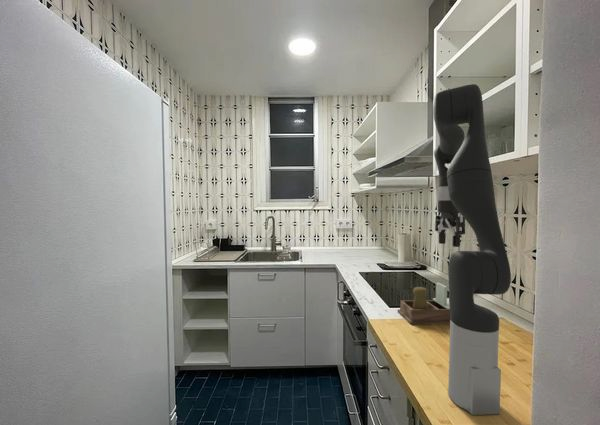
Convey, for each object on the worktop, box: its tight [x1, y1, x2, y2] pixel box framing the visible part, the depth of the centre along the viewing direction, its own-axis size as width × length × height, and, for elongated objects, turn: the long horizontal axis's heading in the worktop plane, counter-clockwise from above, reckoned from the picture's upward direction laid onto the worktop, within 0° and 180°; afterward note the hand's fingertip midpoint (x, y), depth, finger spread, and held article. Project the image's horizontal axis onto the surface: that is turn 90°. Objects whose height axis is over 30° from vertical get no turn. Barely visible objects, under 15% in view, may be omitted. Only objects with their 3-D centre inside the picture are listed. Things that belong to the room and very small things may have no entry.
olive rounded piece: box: [412, 286, 429, 309], centre depth 109 cm, size 6×6×11 cm
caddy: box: [397, 299, 450, 326], centre depth 111 cm, size 12×24×5 cm, turn 93°
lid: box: [432, 282, 450, 309], centre depth 111 cm, size 11×10×8 cm
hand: (448, 245), depth 102 cm, fingers open, 8 cm apart
